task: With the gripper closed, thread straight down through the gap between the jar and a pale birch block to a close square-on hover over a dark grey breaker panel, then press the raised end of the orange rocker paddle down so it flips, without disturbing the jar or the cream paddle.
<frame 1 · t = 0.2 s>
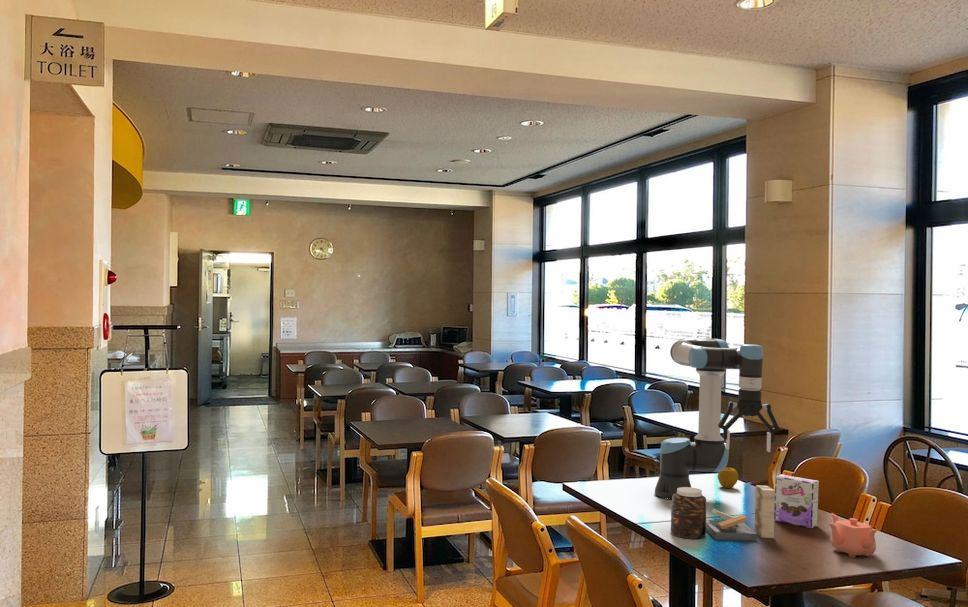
hand: (747, 450, 267), 28 cm above the table, fingers open, 13 cm apart
breaker panel: (728, 533, 262), on the table
teapot: (849, 554, 245), on the table
apple: (727, 488, 332), on the table
jar: (688, 534, 260), on the table
birch block: (763, 534, 262), on the table
paddle far: (725, 516, 266), point 5 cm above the table, hinge at -20.0°
paddle near: (732, 521, 259), point 5 cm above the table, hinge at 20.0°
candy box: (795, 523, 278), on the table
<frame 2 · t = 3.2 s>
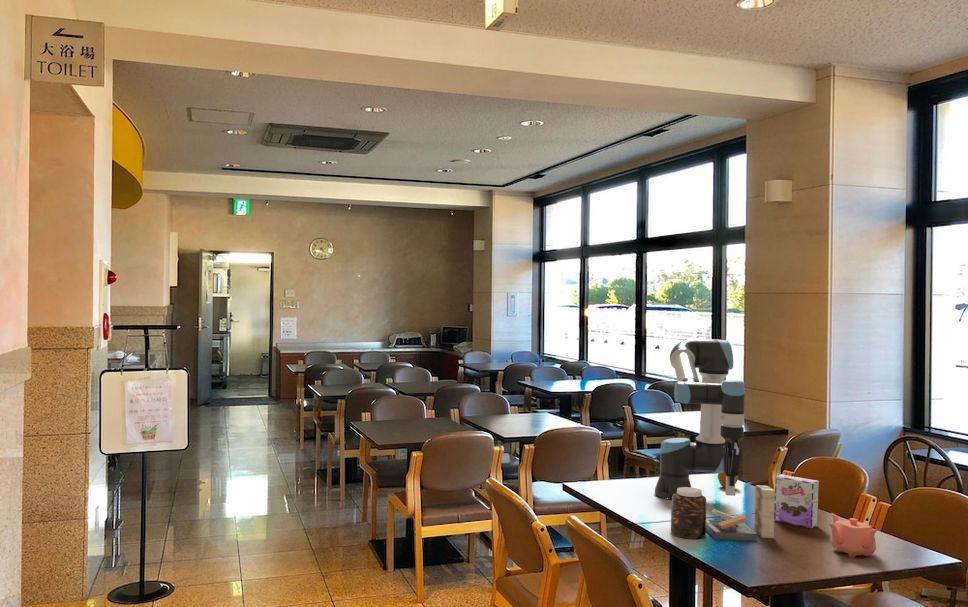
hand: (730, 494, 262), 13 cm above the table, fingers closed
nothing on the table moved.
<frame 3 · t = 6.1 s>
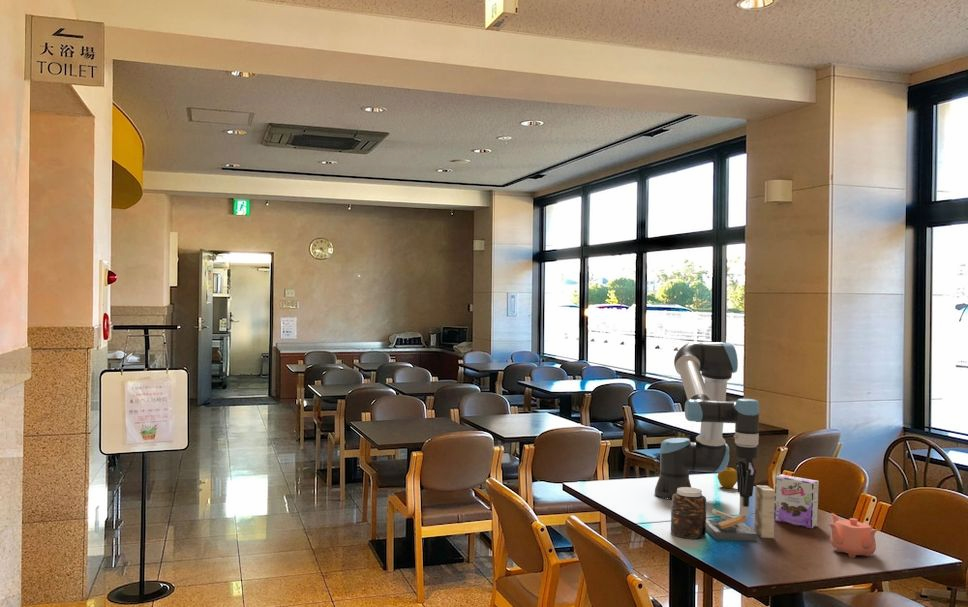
hand: (744, 515, 259), 7 cm above the table, fingers closed
paddle near: (732, 521, 259), point 5 cm above the table, hinge at 20.0°, touching gripper
everything else where it was.
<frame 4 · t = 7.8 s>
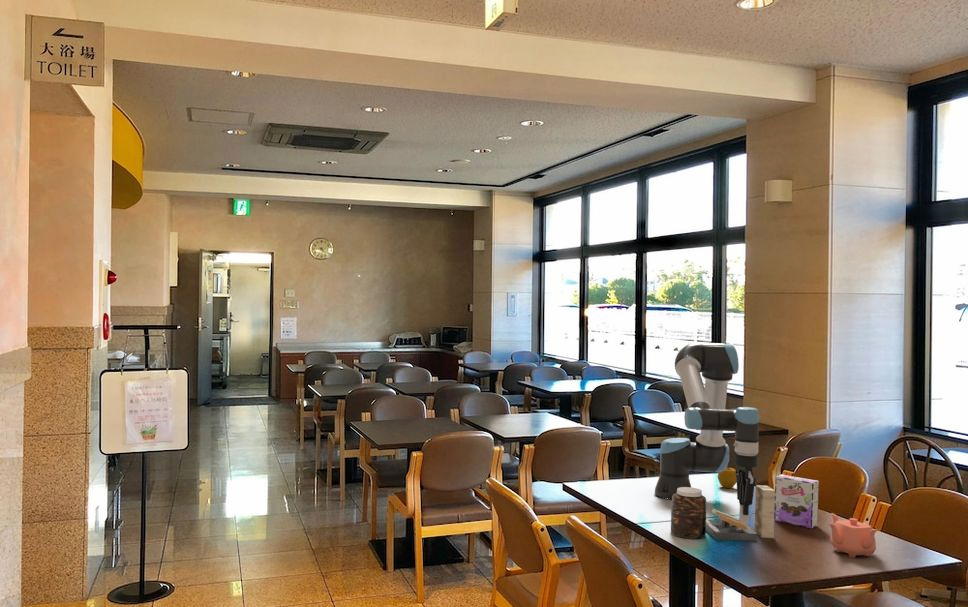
hand: (743, 523, 259), 5 cm above the table, fingers closed
paddle near: (732, 521, 259), point 5 cm above the table, hinge at -22.1°, touching gripper
everything else where it was.
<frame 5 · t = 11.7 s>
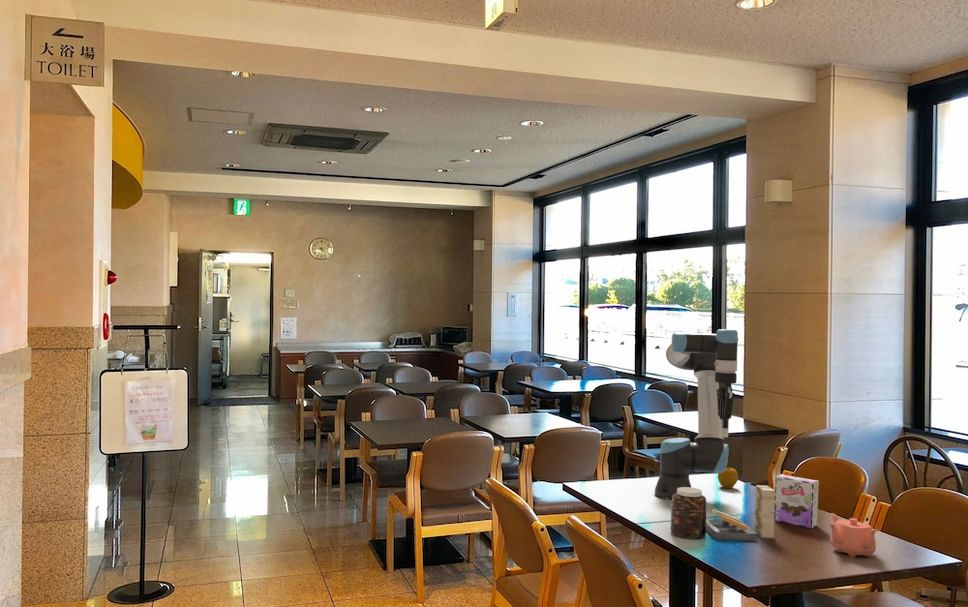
hand: (723, 436, 278), 30 cm above the table, fingers closed
paddle near: (732, 521, 259), point 5 cm above the table, hinge at -22.1°
everything else where it was.
at the end: paddle near at -22° (first picture: +20°); paddle far at -20° (first picture: -20°); jar moved 0.2 cm from its start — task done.
